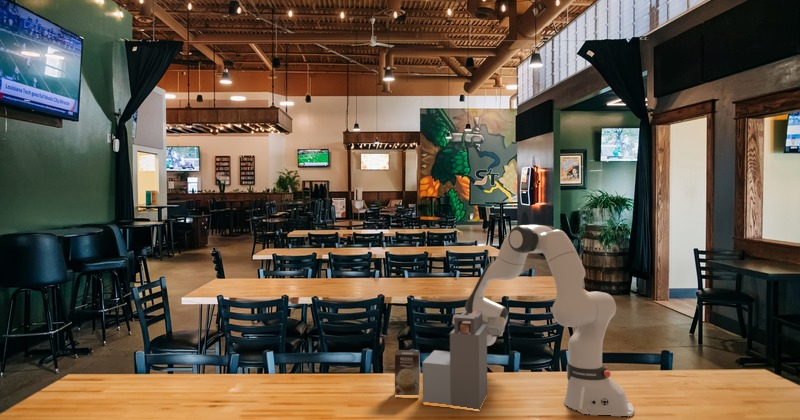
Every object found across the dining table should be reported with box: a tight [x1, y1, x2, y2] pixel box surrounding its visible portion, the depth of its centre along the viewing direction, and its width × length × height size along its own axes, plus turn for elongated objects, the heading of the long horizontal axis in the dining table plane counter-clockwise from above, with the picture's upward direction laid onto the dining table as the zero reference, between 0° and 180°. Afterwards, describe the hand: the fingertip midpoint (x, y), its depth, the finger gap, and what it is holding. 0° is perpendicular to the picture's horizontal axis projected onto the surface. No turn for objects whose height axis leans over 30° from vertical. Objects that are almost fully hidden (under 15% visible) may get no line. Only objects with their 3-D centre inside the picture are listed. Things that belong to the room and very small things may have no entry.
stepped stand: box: [421, 310, 488, 411], centre depth 186 cm, size 20×16×32 cm
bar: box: [460, 311, 481, 334], centre depth 189 cm, size 3×24×3 cm, turn 161°
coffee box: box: [394, 349, 421, 396], centre depth 191 cm, size 9×6×16 cm
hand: (475, 315), depth 196 cm, fingers closed on bar, 3 cm apart
